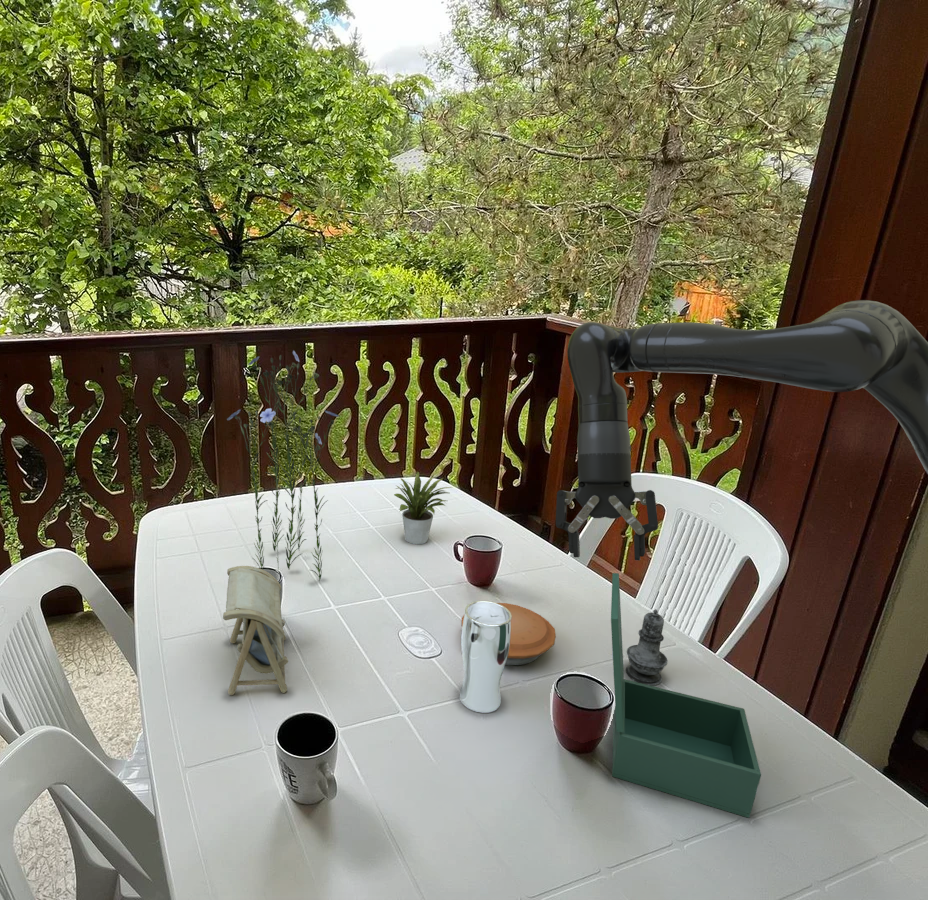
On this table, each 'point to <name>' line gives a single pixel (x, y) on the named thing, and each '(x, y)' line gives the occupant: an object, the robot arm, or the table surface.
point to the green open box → (686, 748)
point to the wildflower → (268, 417)
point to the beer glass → (484, 654)
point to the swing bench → (256, 624)
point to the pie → (527, 635)
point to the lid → (617, 652)
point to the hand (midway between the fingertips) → (606, 558)
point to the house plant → (418, 509)
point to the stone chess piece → (647, 652)
